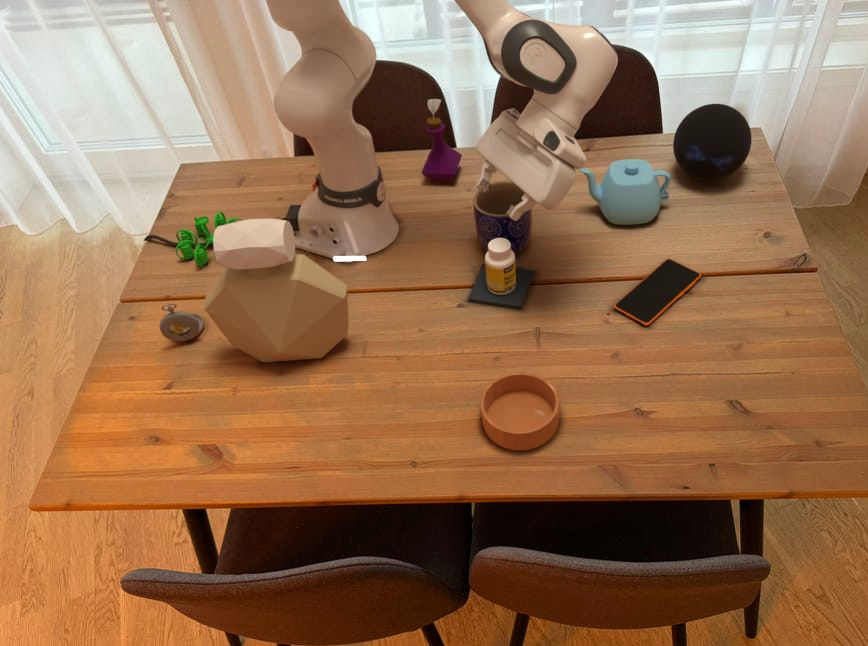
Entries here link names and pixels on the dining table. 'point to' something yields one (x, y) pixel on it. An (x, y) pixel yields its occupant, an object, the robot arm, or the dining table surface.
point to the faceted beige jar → (274, 294)
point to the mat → (509, 300)
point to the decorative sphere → (712, 142)
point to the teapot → (629, 191)
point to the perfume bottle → (439, 150)
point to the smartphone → (657, 292)
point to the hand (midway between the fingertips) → (495, 203)
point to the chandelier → (201, 228)
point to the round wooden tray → (520, 411)
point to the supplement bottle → (500, 267)
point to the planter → (501, 216)
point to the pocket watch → (180, 325)
